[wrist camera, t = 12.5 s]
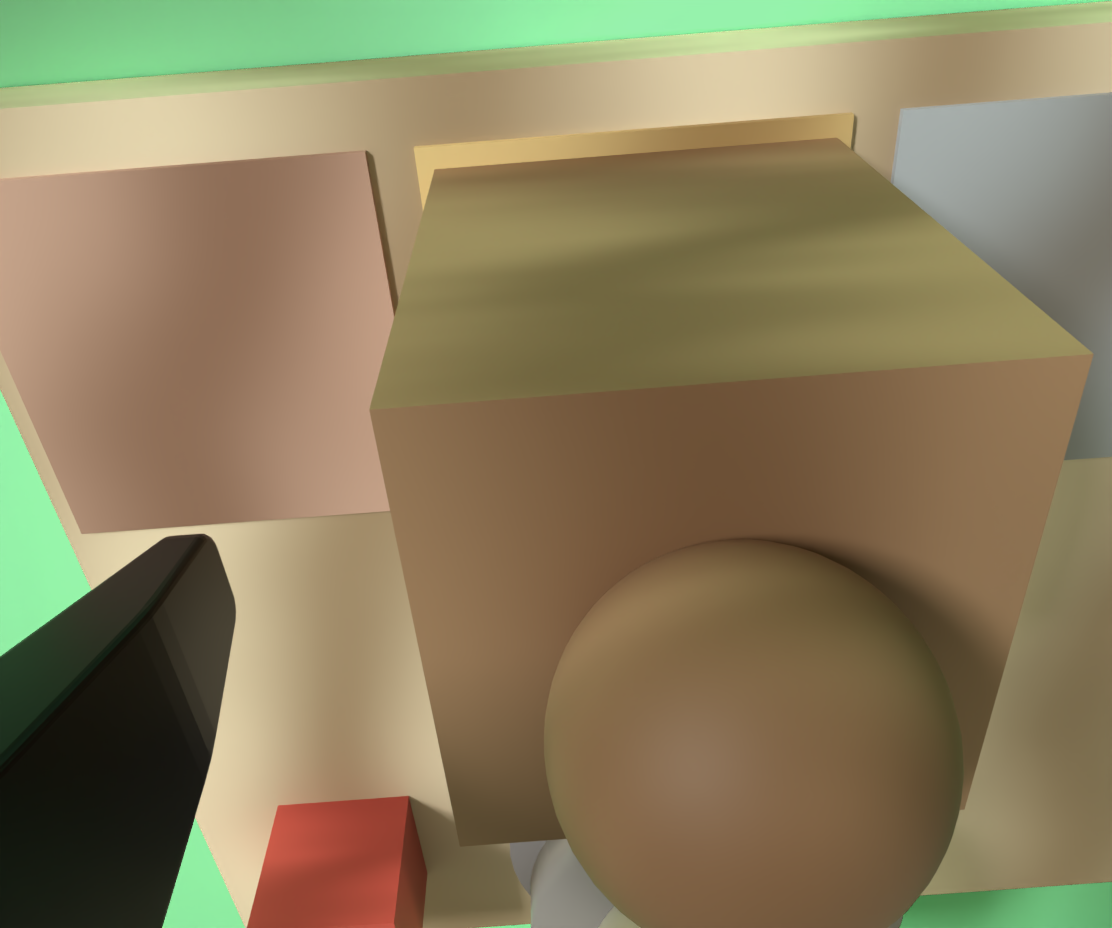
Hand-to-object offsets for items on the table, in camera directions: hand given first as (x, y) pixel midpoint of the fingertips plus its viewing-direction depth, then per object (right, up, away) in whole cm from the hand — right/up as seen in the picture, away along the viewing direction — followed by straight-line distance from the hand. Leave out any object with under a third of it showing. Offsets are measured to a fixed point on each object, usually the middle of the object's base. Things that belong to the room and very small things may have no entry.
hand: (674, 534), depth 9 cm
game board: (+3, -1, +8) cm, 9 cm away
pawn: (0, +2, +4) cm, 5 cm away
